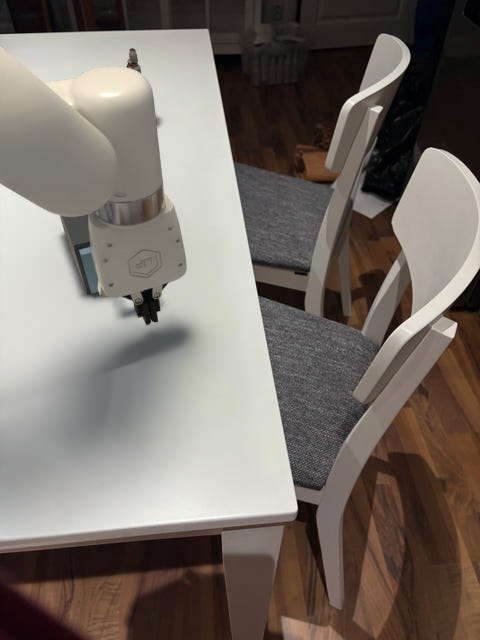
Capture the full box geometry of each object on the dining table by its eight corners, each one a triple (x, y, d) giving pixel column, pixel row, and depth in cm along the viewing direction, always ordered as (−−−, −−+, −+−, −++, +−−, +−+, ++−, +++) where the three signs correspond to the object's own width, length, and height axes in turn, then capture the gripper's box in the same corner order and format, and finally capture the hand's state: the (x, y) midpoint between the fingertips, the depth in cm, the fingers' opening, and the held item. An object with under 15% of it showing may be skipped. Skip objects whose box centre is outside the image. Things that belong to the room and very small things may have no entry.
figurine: (153, 131, 109) (144, 56, 98) (119, 129, 109) (106, 54, 98) (160, 116, 113) (152, 42, 102) (127, 114, 114) (115, 40, 103)
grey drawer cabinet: (169, 270, 80) (163, 221, 74) (86, 294, 77) (72, 245, 70) (140, 217, 89) (132, 169, 82) (65, 236, 86) (51, 188, 79)
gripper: (64, 235, 50) (99, 355, 64) (208, 198, 55) (212, 318, 68) (48, 194, 55) (84, 314, 69) (182, 163, 59) (191, 282, 73)
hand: (148, 316), depth 68 cm, fingers closed
